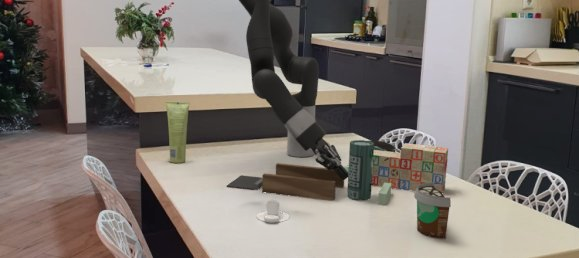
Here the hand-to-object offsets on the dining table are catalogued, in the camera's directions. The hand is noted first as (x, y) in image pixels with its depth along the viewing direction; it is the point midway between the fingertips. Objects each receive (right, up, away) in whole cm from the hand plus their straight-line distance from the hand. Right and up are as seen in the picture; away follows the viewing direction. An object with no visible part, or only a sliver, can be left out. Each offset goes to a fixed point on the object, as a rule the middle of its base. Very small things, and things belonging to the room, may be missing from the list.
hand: (346, 177), depth 164 cm
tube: (-51, +3, +31) cm, 60 cm away
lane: (-11, -4, +5) cm, 13 cm away
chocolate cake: (+11, 0, +26) cm, 28 cm away
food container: (+16, -11, -24) cm, 31 cm away
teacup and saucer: (-22, -9, -18) cm, 30 cm away
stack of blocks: (+18, -4, +10) cm, 21 cm away
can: (+3, -5, 0) cm, 6 cm away
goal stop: (+10, -6, -2) cm, 12 cm away
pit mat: (-28, -2, +10) cm, 29 cm away
